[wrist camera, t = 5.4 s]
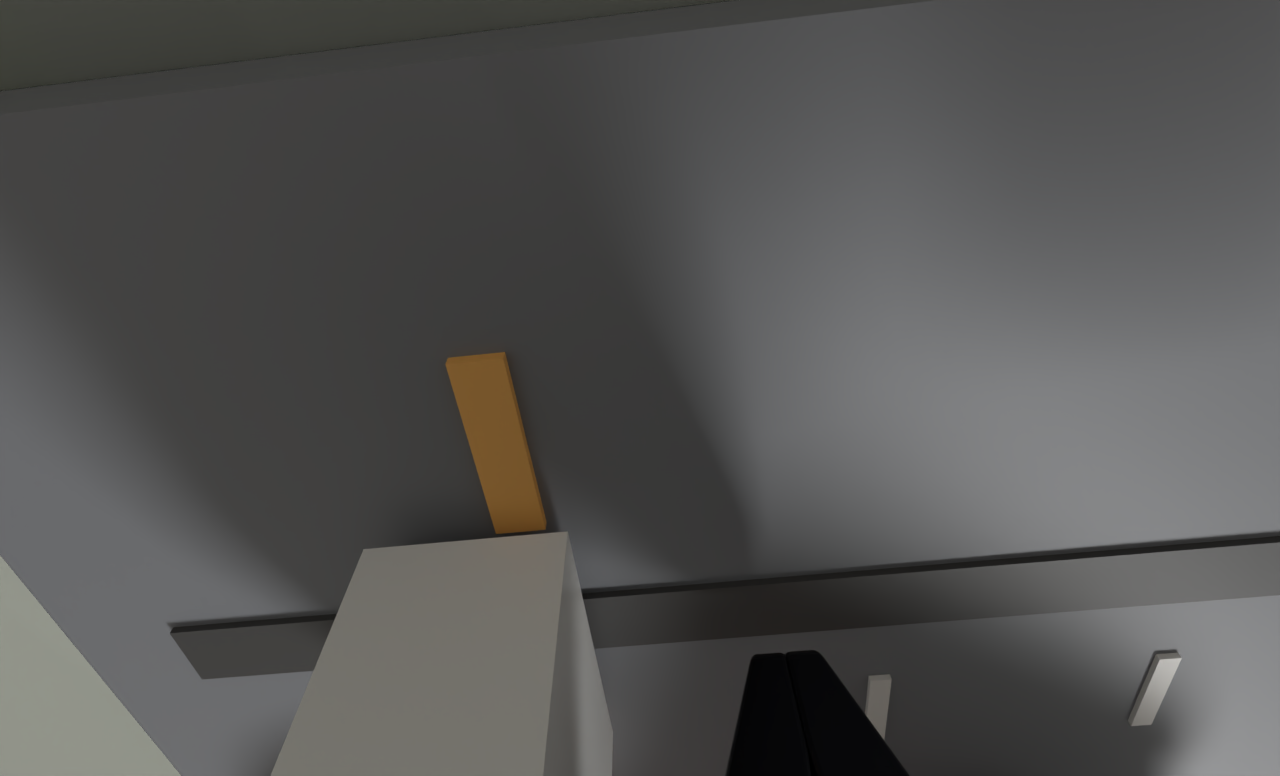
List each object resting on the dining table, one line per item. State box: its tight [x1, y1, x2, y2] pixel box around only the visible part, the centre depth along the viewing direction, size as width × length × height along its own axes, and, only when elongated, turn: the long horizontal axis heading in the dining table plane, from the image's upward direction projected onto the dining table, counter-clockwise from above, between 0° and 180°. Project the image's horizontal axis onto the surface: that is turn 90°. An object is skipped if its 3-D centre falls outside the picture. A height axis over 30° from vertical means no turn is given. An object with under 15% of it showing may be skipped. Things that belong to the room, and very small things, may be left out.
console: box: [0, 0, 1280, 776], centre depth 10 cm, size 22×16×4 cm
